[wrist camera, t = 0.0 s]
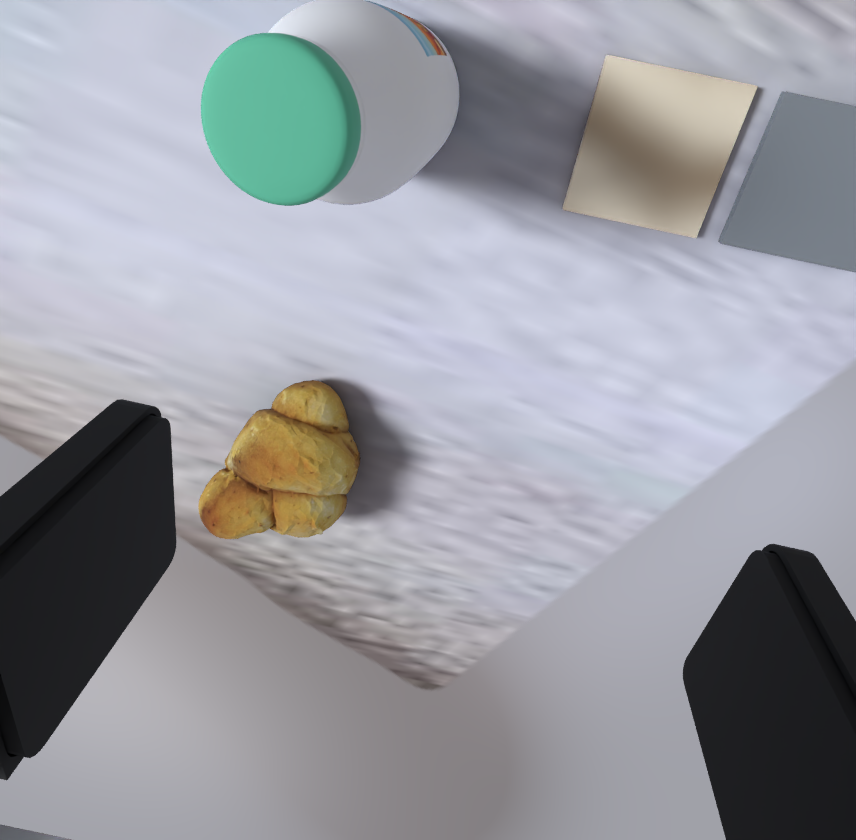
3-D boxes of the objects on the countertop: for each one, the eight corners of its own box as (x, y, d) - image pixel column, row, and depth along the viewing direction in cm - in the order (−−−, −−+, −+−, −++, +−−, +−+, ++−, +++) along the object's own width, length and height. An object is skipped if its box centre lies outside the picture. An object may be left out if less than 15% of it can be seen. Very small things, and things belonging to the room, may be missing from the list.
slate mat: (781, 91, 32) (786, 92, 32) (931, 122, 32) (938, 123, 32) (718, 241, 36) (721, 243, 36) (850, 269, 36) (855, 272, 36)
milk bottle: (489, 99, 34) (461, 133, 17) (393, 196, 37) (289, 306, 20) (392, -22, 32) (249, -123, 15) (300, 92, 35) (94, 118, 18)
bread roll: (287, 347, 44) (244, 400, 37) (403, 415, 45) (382, 478, 38) (224, 467, 50) (177, 531, 43) (328, 523, 52) (299, 593, 45)
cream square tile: (605, 54, 32) (607, 54, 32) (754, 85, 32) (757, 86, 32) (562, 207, 37) (562, 210, 36) (693, 235, 36) (696, 238, 36)
